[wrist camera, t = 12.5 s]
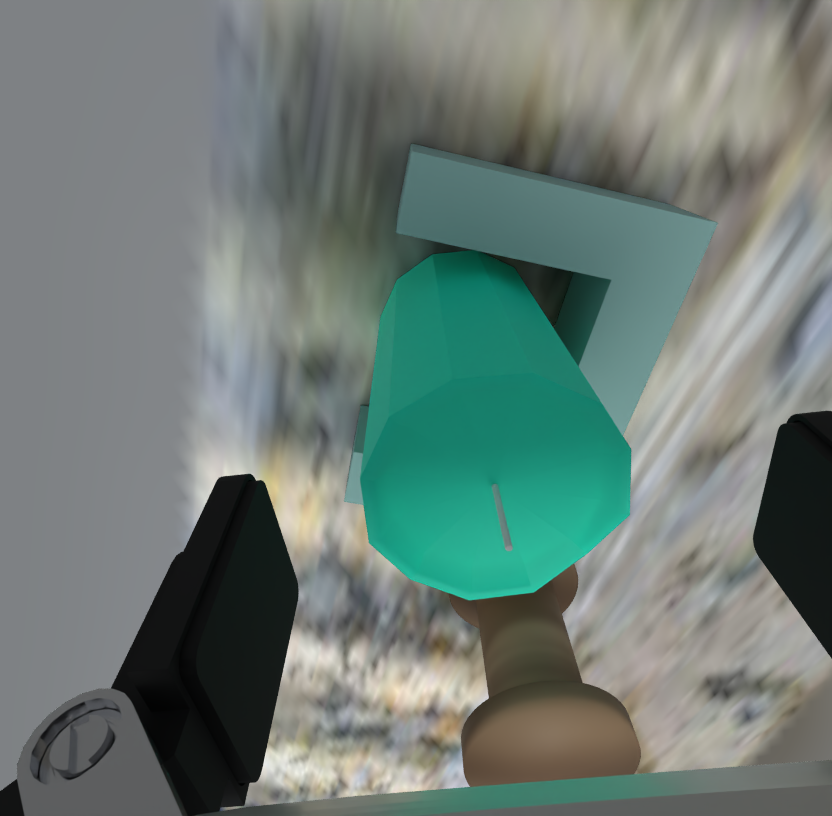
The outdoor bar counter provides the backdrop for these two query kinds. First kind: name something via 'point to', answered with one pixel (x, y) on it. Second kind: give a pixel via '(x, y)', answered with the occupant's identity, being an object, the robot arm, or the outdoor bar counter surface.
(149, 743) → the robot arm
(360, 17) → the outdoor bar counter surface
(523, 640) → the bobbin
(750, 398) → the outdoor bar counter surface
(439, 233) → the notch board
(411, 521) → the candle
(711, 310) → the outdoor bar counter surface
